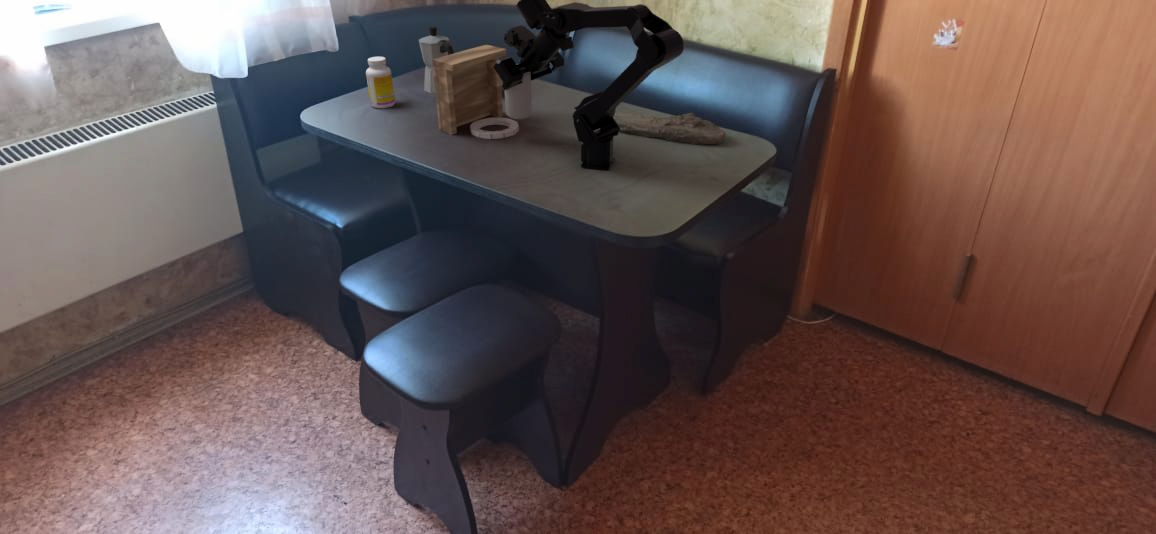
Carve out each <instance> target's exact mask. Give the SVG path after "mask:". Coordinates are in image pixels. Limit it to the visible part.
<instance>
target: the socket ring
mask: <svg viewBox="0 0 1156 534" xmlns="http://www.w3.org/2000/svg"><path fill="white" fill-rule="evenodd" d="M494 125H497V126H505V127H508V128H506V129H502V130H495V131H491V130H484V129H482V128H483V127H486V126H494ZM469 128H470V129H469V131H470V133H471V135H472V136H474V137H476V138H480V139H487V140H491V139H492V140H498V139H504V138H505V139H506V138H508V137H512V136H514V135H516V134H517V133H518V132H519V130H520V125H519V123H518V121H517V120H515V119H513V118H507V117H496V116H494V117H486V118H480V119H477V120H475V121H473V122H472V123H471V124H470V125H469Z"/></svg>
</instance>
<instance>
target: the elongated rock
mask: <svg viewBox="0 0 1156 534" xmlns="http://www.w3.org/2000/svg"><path fill="white" fill-rule="evenodd" d="M613 118H614V119H615V121H616V123H617V124H618V126H619V127H620V130H619V132H621V133H623V134H624V133H625V134H632V135H636V136H640V137H641V136H642V137H645V138H654V139H655V138H658V139H665V140H667V141H672V142H681V143H686V144H692V145H699V144H704V145H710V144H713V145H715V144H716V145H717V144H721V143H723V141H724V140H725V138H726V132H725V131H724V129H722V128H720V127H719V125H715V123H712V122H711V121H709V120H708V119H705V120H704V119H702V118H701V117H698V116H696V115H695V114H694V112H687V113H683V114H681V115H680V114H679V115H677V116H674V115H673V116H668V117H655V116H652V115H651V116H649V115H643V114H636V113H630V112H629V113H627V112H623V111H621V112H620V111H615V114H614V116H613Z"/></svg>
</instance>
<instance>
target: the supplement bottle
mask: <svg viewBox="0 0 1156 534" xmlns="http://www.w3.org/2000/svg"><path fill="white" fill-rule="evenodd" d="M367 64H368V66H369V67H368V68H367V69H366V71H365V76H366V81H367V82H366V83H367V88H368V89H367V90H368V97H369V103H370V106H371V107H372V108H374V107H375V109H387V108H390V107H393V106H394V105H395V103H396V99H395V98H396V97H395V93H394V92H395V91H394V86H393V85H394V84H393V77H392V76H393V75H392V70H391V68H390V67H389V66H386V64H387V59H386V57H384V56H372V57H369V58H368V59H367Z"/></svg>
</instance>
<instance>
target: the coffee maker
mask: <svg viewBox="0 0 1156 534" xmlns="http://www.w3.org/2000/svg"><path fill="white" fill-rule="evenodd" d="M428 30H429V35H428V36H423V37H421V38H419V39H418V43H419V48H420V52H421V56H422V59H423V63H424V64H425V67H424V82H423V83H424V85H423V86H424V87H423V88H424V89H423V92H424V91H426V92H429V93H430V94H429V93H428V94H429V95H436V93H435V83H434V74H433V64H432V60H433V59H436V58H440V57H443V56H447V55H450V54H454V53H455V51H454V49H453V46H452V45H451V44H450V38H449V37H447V36H445V35H443V36H442V35H437V32H438V27H437V26H433V25H432V26H429V27H428ZM426 92H425V93H426ZM431 93H432V94H431Z"/></svg>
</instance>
